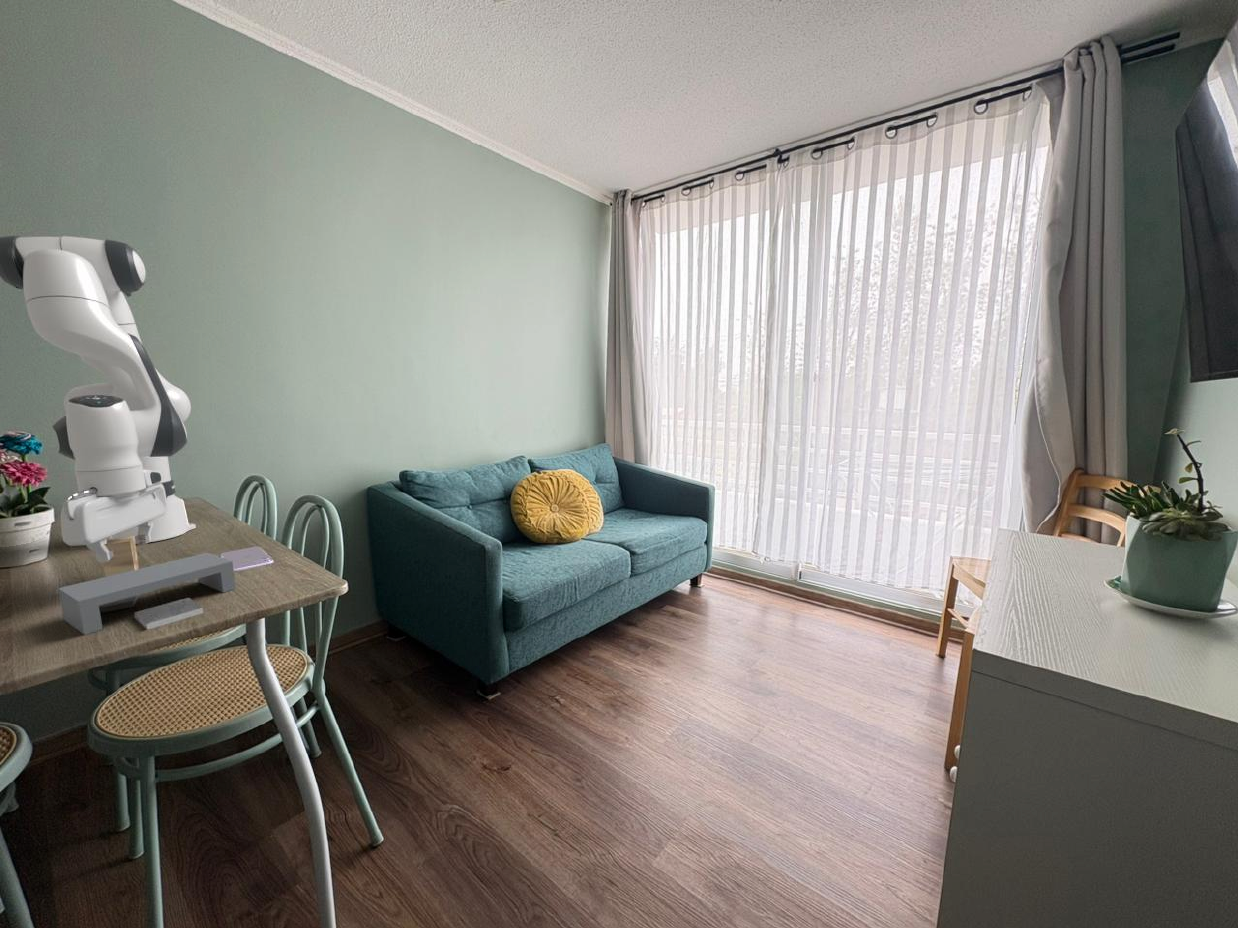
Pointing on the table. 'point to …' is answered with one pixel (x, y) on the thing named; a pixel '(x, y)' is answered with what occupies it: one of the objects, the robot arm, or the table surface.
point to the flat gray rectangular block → (168, 613)
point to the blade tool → (120, 568)
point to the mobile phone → (247, 558)
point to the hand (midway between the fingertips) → (125, 551)
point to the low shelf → (140, 586)
